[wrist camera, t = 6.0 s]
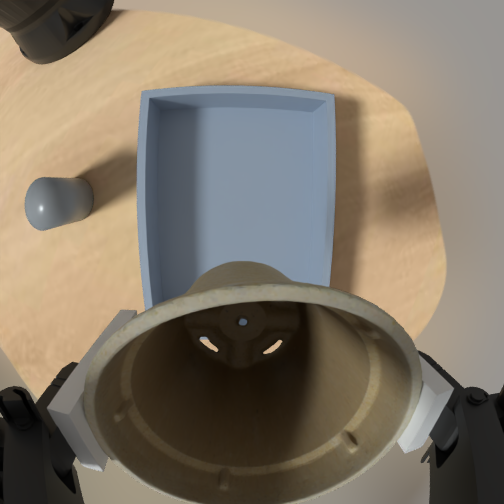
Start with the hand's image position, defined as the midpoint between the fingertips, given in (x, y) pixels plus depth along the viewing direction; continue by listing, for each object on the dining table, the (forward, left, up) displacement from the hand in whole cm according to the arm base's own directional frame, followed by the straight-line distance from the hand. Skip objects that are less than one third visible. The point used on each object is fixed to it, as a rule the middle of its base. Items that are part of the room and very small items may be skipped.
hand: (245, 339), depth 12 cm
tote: (-4, 0, -18) cm, 19 cm away
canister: (-6, -19, -18) cm, 27 cm away
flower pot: (0, 0, -3) cm, 3 cm away
